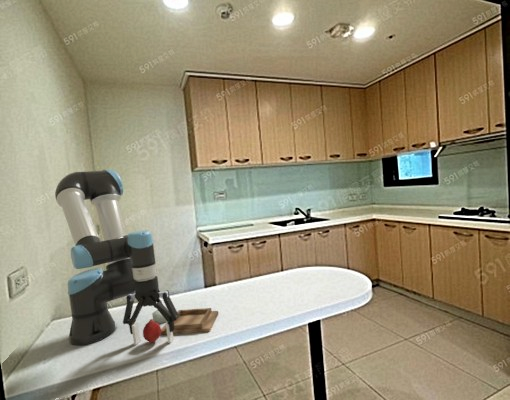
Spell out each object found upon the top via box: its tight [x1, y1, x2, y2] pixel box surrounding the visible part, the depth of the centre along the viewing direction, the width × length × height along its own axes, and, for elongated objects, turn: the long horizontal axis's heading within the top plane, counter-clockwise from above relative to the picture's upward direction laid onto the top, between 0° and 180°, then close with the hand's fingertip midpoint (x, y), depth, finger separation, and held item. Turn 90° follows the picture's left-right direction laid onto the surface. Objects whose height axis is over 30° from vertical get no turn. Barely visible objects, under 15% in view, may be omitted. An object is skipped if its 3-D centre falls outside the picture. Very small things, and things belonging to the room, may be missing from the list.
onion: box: [142, 318, 162, 344], centre depth 102 cm, size 6×6×8 cm
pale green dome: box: [152, 307, 168, 325], centre depth 119 cm, size 7×7×3 cm
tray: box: [161, 307, 219, 335], centre depth 113 cm, size 18×14×3 cm
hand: (153, 341), depth 102 cm, fingers open, 11 cm apart
